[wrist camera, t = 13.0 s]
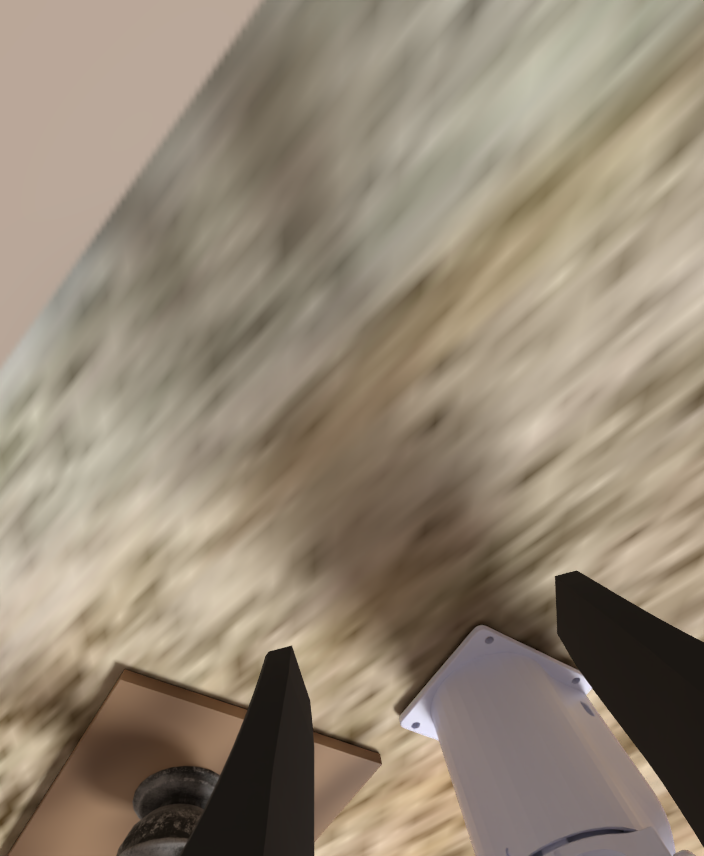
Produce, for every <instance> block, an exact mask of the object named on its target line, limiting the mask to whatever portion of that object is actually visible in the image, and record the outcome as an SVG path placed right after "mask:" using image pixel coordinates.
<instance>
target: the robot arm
mask: <svg viewBox="0 0 704 856" xmlns="http://www.w3.org/2000/svg"><path fill="white" fill-rule="evenodd" d="M555 586H556V610H557V634H558V636H559V637H560V639H561V641H562V642H563V644H564V646H565V648H566V649H567V651H568V653H569V655H570V656H571V658H572V659H573V661H574V663H575V664H576V666H577V668H578V669H579V670H577V669H575V668H573V667H571V666H569V665H566V664H564V663H562V662H560V661H558V660H556V659H554V658H552V657H550V656H548V655H546V654H544V653H541V652H539V651H537V650H535V649H533V648H531V647H529V646H527V645H525V644H523V643H521V642H518V641H516V640H514V639H512V638H510V637H508V636H506V635H504V634H502V633H500V632H498V631H496V630H493V629H491V628H489V627H487V626H485V625H479V626H476V627H475V628H474V629H473V630H472V631H471V632H470V634H469V635H468V636H467V637H466V638H465V640H464V641H463V642H462V643H461V644H460V645H459V647H458V648H457V649H456V650H455V651H454V652H453V654H452V655H451V656H450V657H449V658H448V660H447V661H446V662H445V663H444V664H443V665H442V667H441V668H440V669H439V670H438V671H437V672H436V674H435V675H434V676H433V677H432V678H431V680H430V681H429V682H428V683H427V684H426V685H425V687H424V688H423V689H422V690H421V691H420V692H419V694H418V695H417V696H416V697H415V698H414V700H413V701H412V702H411V703H410V704H409V705H408V707H407V708H406V709H405V710H404V711H403V712H402V714H401V715H400V717H399V721H400V725H401V726H402V727H403V728H405V729H408V730H411V731H414V732H417V733H419V734H422V735H425V736H428V737H430V738H433V739H436V740H439V742H440V745H441V748H442V752H443V755H444V758H445V761H446V764H447V767H448V770H449V774H450V777H451V780H452V783H453V786H454V789H455V792H456V796H457V799H458V802H459V805H460V808H461V811H462V814H463V818H464V821H465V824H466V827H467V830H468V833H469V836H470V840H471V843H472V846H473V849H474V852H475V855H476V856H695V855H694V854H693V853H692V852H690V851H688V850H682V851H679V852H677V853H675V845H674V840H673V835H672V831H671V827H670V824H669V821H668V819H667V816H666V814H665V811H664V809H663V807H662V805H661V803H660V801H659V799H658V798H657V796H656V794H655V793H654V791H653V790H652V788H651V787H650V786H649V784H648V783H647V781H646V780H645V778H644V777H643V776H642V774H641V773H640V771H639V770H638V768H637V767H636V766H635V764H634V763H633V761H632V760H631V759H630V757H629V756H628V754H627V753H626V751H625V750H624V749H623V747H622V746H621V744H620V743H619V741H618V740H617V739H616V737H615V736H614V734H613V733H612V731H611V730H610V729H609V727H608V726H607V724H606V723H605V722H604V720H603V719H602V717H601V716H600V714H599V713H598V712H597V710H596V709H595V707H594V706H593V704H592V703H591V702H590V700H589V699H588V697H587V696H586V694H587V693H588V692H589V691H590V690H591V689H593V690H594V691H595V693H596V694H597V695H598V697H599V698H600V699H601V701H602V702H603V703H604V705H605V706H606V707H607V709H608V710H609V711H610V712H611V714H612V715H613V716H614V718H615V719H616V720H617V722H618V723H619V724H620V726H621V727H622V728H623V730H624V731H625V732H626V734H627V735H628V736H629V738H630V739H631V740H632V741H633V743H634V744H635V745H636V747H637V748H638V749H639V751H640V752H641V753H642V755H643V756H644V757H645V759H646V760H647V761H648V763H649V764H650V766H651V767H652V768H653V770H654V771H655V773H656V774H657V775H658V777H659V778H660V780H661V781H662V783H663V784H664V786H665V787H666V789H667V790H668V792H669V793H670V795H671V797H672V798H673V800H674V801H675V803H676V804H677V806H678V807H679V809H680V810H681V812H682V814H683V815H684V817H685V818H686V820H687V821H688V823H689V824H690V826H691V828H692V829H693V831H694V832H695V834H696V836H697V837H698V839H699V840H700V842H701V844H702V845H703V847H704V642H702V641H700V640H698V639H696V638H694V637H692V636H690V635H688V634H687V633H685V632H683V631H681V630H679V629H677V628H675V627H673V626H672V625H670V624H668V623H666V622H664V621H662V620H661V619H659V618H657V617H655V616H653V615H652V614H650V613H648V612H646V611H645V610H643V609H641V608H639V607H638V606H636V605H634V604H632V603H631V602H629V601H627V600H626V599H624V598H622V597H621V596H619V595H617V594H615V593H614V592H612V591H610V590H609V589H607V588H605V587H604V586H602V585H600V584H599V583H597V582H595V581H594V580H592V579H590V578H589V577H587V576H585V575H583V574H582V573H580V572H578V571H573V572H569V573H566V574H562V575H558V576H555ZM487 637H488V638H487ZM179 856H314V737H313V725H312V715H311V705H310V699H309V696H308V693H307V690H306V687H305V684H304V681H303V678H302V675H301V672H300V669H299V666H298V663H297V660H296V657H295V654H294V651H293V648H292V646H289V647H285V648H281V649H277V650H273V651H270V652H268V653H267V655H266V656H265V660H264V663H263V666H262V670H261V673H260V676H259V679H258V682H257V685H256V688H255V691H254V693H253V696H252V699H251V702H250V705H249V707H248V710H247V712H246V715H245V718H244V720H243V723H242V725H241V728H240V730H239V733H238V735H237V738H236V740H235V743H234V745H233V747H232V750H231V752H230V754H229V756H228V759H227V761H226V763H225V765H224V768H223V770H222V772H221V774H220V777H219V779H218V781H217V783H216V785H215V788H214V790H213V792H212V794H211V796H210V798H209V800H208V802H207V804H206V806H205V808H204V810H203V812H202V814H201V816H200V818H199V820H198V822H197V824H196V826H195V828H194V829H193V831H192V833H191V835H190V837H189V839H188V841H187V843H186V844H185V846H184V848H183V850H182V852H181V853H180V855H179Z"/></svg>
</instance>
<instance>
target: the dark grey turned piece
mask: <svg viewBox="0 0 704 856" xmlns="http://www.w3.org/2000/svg"><path fill="white" fill-rule="evenodd" d="M219 777H220V775H219V774H217V773H215V772H213V771H211V770H208V769H205V768H201V767H194V766H179V767H171V768H168V769H164V770H161V771H159V772H156V773H154V774H152V775H150V776H149V777H148V778H146V779H145V780H144V781H143V782H141V784H140V785H139V786H138V788H137V789H136V791H135V794H134V798H133V801H132V803H133V809H134V811H135V813H136V815H137V816H138V818H139V819H140V821H139V822H138V823H136V824H135V825H134V826H133V828H132V829H131V831H130V832H129V833H128V835H127V836H126V838H125V840H124V841H123V843H122V844H121V846H120V847H119V849H118V852H117V855H116V856H179V855H180V853H181V852H182V850H183V848H184V846H185V844H186V843H187V841H188V839H189V837H190V835H191V833H192V831H193V829H194V828H195V826H196V824H197V822H198V820H199V818H200V816H201V814H202V812H203V810H204V808H205V806H206V804H207V802H208V800H209V798H210V796H211V794H212V792H213V790H214V788H215V785H216V783H217V781H218V779H219Z"/></svg>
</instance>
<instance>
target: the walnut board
mask: <svg viewBox="0 0 704 856" xmlns="http://www.w3.org/2000/svg"><path fill="white" fill-rule="evenodd" d="M246 712H247V710H246V709H243V708H240V707H237V706H234V705H231V704H228V703H225V702H222V701H219V700H216V699H213V698H210V697H207V696H204V695H201V694H198V693H195V692H192V691H189V690H186V689H183V688H180V687H177V686H174V685H171V684H168V683H165V682H162V681H159V680H156V679H153V678H150V677H147V676H144V675H141V674H138V673H135V672H132V671H129V670H126V669H124V671H123V672H122V674H121V676H120V677H119V679H118V680H117V682H116V684H115V685H114V687H113V688H112V690H111V691H110V693H109V695H108V696H107V698H106V699H105V701H104V703H103V704H102V706H101V707H100V709H99V710H98V712H97V714H96V715H95V717H94V718H93V720H92V722H91V723H90V725H89V726H88V728H87V729H86V731H85V733H84V734H83V736H82V737H81V739H80V741H79V742H78V744H77V745H76V747H75V748H74V750H73V752H72V753H71V755H70V756H69V758H68V760H67V761H66V763H65V764H64V766H63V767H62V769H61V771H60V772H59V774H58V775H57V777H56V779H55V780H54V782H53V783H52V785H51V786H50V788H49V790H48V791H47V793H46V794H45V796H44V797H43V799H42V801H41V802H40V804H39V805H38V807H37V809H36V810H35V812H34V813H33V815H32V816H31V818H30V820H29V821H28V823H27V824H26V826H25V828H24V829H23V831H22V832H21V834H20V835H19V837H18V839H17V840H16V842H15V843H14V845H13V847H12V848H11V850H10V851H9V853H8V854H7V856H116V855H117V852H118V849H119V847H120V846H121V844H122V843H123V841H124V840H125V838H126V836H127V835H128V833H129V832H130V831H131V829H132V828H133V826H134V825H135V824H136V823H138V822H139V821H140V819H139V818H138V816H137V815H136V813H135V811H134V809H133V803H132V801H133V798H134V794H135V791H136V789H137V788H138V786H139V785H140V784H141V782H143V781H144V780H145V779H146V778H148V777H149V776H150V775H152V774H154V773H156V772H159V771H161V770H164V769H168V768H171V767H179V766H194V767H201V768H205V769H208V770H211V771H213V772H215V773H217V774H219V775H220V774H221V772H222V770H223V768H224V765H225V763H226V761H227V759H228V756H229V754H230V752H231V750H232V747H233V745H234V743H235V740H236V738H237V735H238V733H239V730H240V728H241V725H242V723H243V720H244V718H245V715H246ZM313 737H314V842H315V841H316V840H317V839H318V838H319V836H320V835H321V834H322V833H323V832H324V831H325V829H326V828H327V827H328V826H329V825H330V824H331V823H332V821H333V820H334V819H335V818H336V817H337V816H338V814H339V813H340V812H341V811H342V810H343V809H344V808H345V806H346V805H347V804H348V803H349V802H350V801H351V799H352V798H353V797H354V796H355V795H356V794H357V793H358V791H359V790H360V789H361V788H362V787H363V786H364V784H365V783H366V782H367V781H368V780H369V779H370V778H371V776H372V775H373V774H374V773H375V772H376V771H377V769H378V768H379V767H380V766H381V765H382V762H381V757H380V754H378V753H375V752H372V751H369V750H366V749H363V748H360V747H357V746H354V745H351V744H348V743H345V742H342V741H339V740H336V739H333V738H330V737H327V736H324V735H321V734H318V733H315V732H313Z"/></svg>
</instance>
